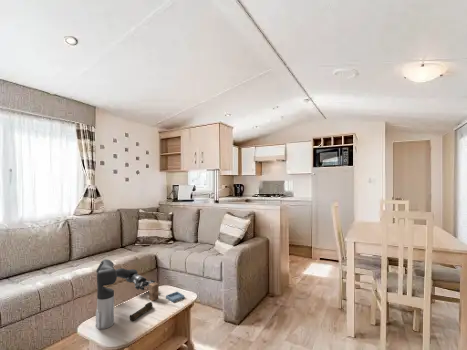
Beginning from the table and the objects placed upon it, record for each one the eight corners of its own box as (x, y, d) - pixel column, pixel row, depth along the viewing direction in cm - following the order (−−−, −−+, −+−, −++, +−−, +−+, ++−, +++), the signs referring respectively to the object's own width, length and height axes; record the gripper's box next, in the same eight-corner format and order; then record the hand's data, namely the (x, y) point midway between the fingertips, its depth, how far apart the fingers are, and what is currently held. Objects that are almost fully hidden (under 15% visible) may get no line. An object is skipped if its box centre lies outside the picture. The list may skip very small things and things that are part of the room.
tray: (172, 302, 184) (172, 299, 184) (166, 298, 190) (166, 295, 191) (184, 298, 190) (184, 295, 190) (177, 294, 197) (177, 291, 197)
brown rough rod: (133, 322, 159) (133, 314, 159) (129, 320, 160) (129, 313, 160) (155, 308, 176) (155, 301, 176) (150, 307, 177) (151, 300, 178)
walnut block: (152, 301, 186) (152, 286, 186) (148, 299, 189) (149, 284, 189) (158, 299, 189) (158, 284, 189) (155, 296, 193) (155, 282, 193)
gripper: (131, 278, 201) (140, 284, 190) (148, 274, 211) (157, 279, 199) (131, 288, 201) (140, 295, 189) (148, 283, 211) (157, 289, 199)
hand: (149, 287), depth 194 cm, fingers open, 8 cm apart
